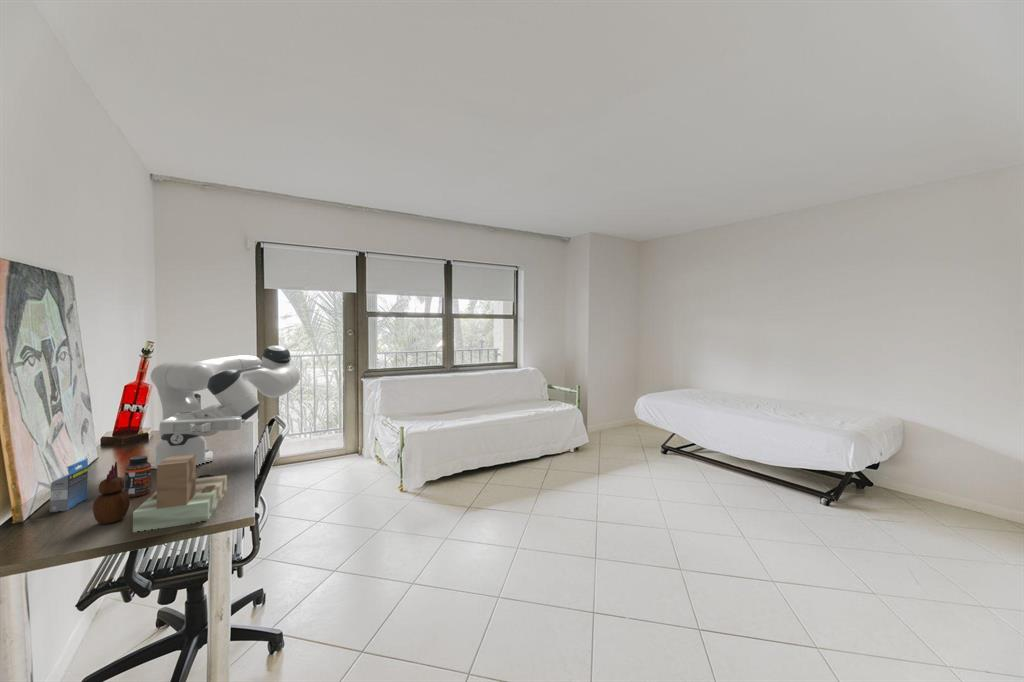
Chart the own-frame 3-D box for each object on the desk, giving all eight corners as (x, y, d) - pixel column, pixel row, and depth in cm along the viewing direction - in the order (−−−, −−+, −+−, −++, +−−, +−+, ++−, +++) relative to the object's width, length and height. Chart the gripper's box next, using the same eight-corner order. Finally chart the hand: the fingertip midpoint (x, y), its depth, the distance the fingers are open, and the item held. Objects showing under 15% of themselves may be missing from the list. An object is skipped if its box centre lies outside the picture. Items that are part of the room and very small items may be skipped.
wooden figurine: (114, 515, 107) (114, 459, 107) (134, 515, 107) (135, 460, 107) (86, 527, 101) (86, 467, 101) (108, 527, 100) (108, 468, 100)
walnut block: (167, 497, 107) (168, 456, 107) (195, 493, 110) (195, 454, 110) (156, 508, 100) (156, 465, 100) (186, 504, 103) (186, 462, 102)
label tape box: (70, 500, 117) (70, 459, 117) (88, 498, 118) (88, 457, 118) (48, 513, 109) (49, 468, 109) (68, 510, 110) (69, 466, 110)
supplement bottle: (134, 498, 119) (134, 460, 119) (119, 497, 120) (119, 459, 120) (156, 491, 124) (156, 455, 124) (141, 489, 126) (141, 453, 126)
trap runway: (166, 498, 119) (166, 481, 119) (226, 490, 125) (227, 474, 125) (132, 532, 98) (132, 512, 98) (207, 521, 104) (207, 502, 104)
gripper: (246, 429, 134) (238, 437, 121) (168, 433, 125) (151, 442, 112) (246, 410, 134) (239, 416, 122) (169, 413, 125) (152, 420, 113)
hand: (196, 429), depth 117 cm, fingers closed
